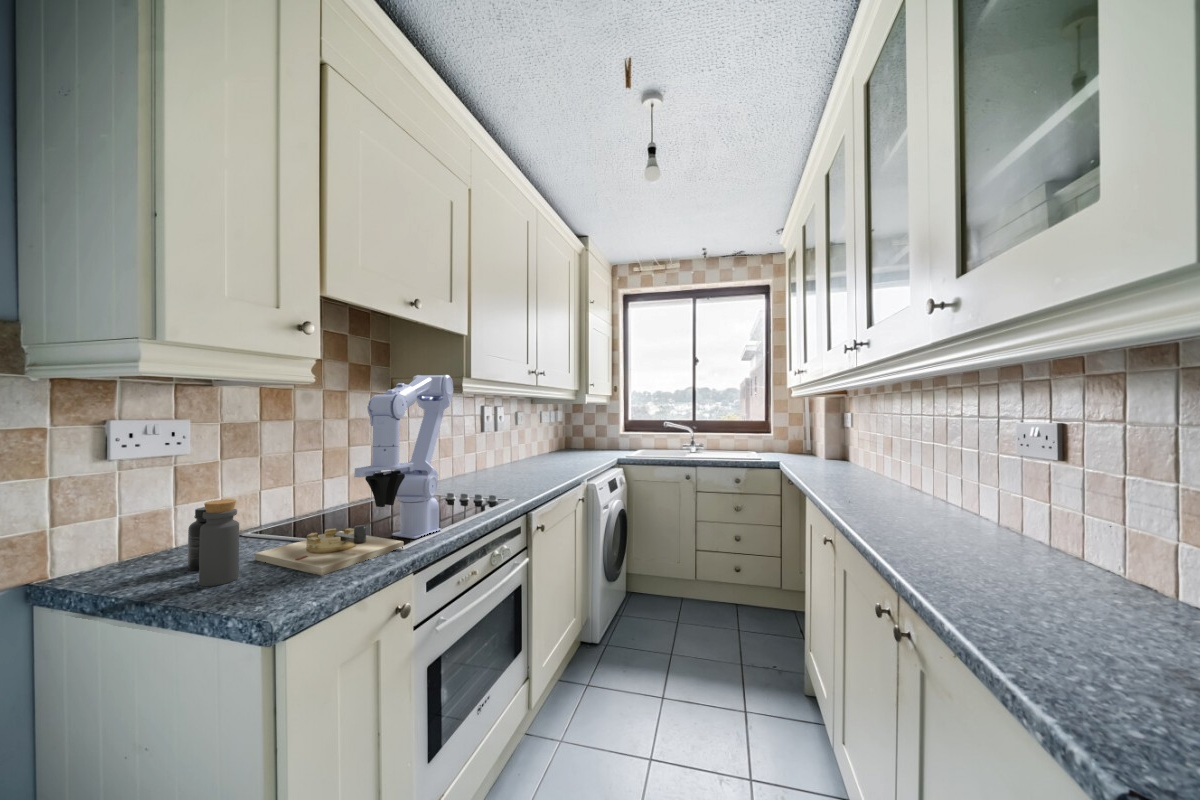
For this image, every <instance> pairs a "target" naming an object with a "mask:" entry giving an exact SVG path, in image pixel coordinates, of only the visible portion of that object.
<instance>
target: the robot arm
mask: <svg viewBox="0 0 1200 800" xmlns="http://www.w3.org/2000/svg"><path fill="white" fill-rule="evenodd" d="M395 386H396V387H394V388H392V389H387V390H386V392H385V393H383V394H374V396H372V397H371V398H369V401H368V405H367V413H368V416H369V424H370V426H371V427H372V439H371V440H372V442H371V443H372V449H371V450H372V451H371V465H368V466H362V467H361V466H360V467H355V468H354V478H365V481H366V483H367V484H368V485H369V488H370V490H371V493H372V495H373V500H374V502H375V507H379V508H385V507H386V506H393V505H394V504H395V501H396V498H397V502H399V514H400V515H399V531H397V532H393V533H391V536H393V537H394V536H395V537H399V538H406V539H414V540H415V539H419V538H421V536H422V537H425V536H428V535H430V534H429V533H431V534H433V532H434V533H436V531H437V532H440V531H439V530H441V531H442V528H440V506H439V502H438V500H437V499H436V498H435V497H434V496H435V495H436V494H437V492H438V491H437V490H438V479H439V473H438V471H437V469H436V468H435V467H434V466H432V464H431V463H432V459H433V455H434V452H435V447H436V444H437V441H438V437H439V432H440V429H441V425H442V421H443V417H444V413H445V410H446V409H448V408H449V407H450V405H451V402H452V400H453V399H452V398H453V394H454V382H453V379H452V377H451V376H450V374H442V375H440V374H439V375H436V374H435V375H434V374H433V375H421V374H417V375H414V376H413V377H412V381H411V382H410V383H408V384H405V383H404V382H398V383H396V385H395ZM415 402H416V403H417V406H418V407H419V408H420V409H422V410H424V413H423V418H422V420H421V423H420V428H419V431H418V434H417V436H416V437H417V438H416V442H415V444H414V447H413V453H412V455H411V459H410V461H408V462H400V449H401V448H400V446H401V445H400V444H401V443H400V441H401V438H400V436H401V433H400V432H401V419H403V418H404V417H405V413H406V411H407V409H408V408H410V407H411V406H412V405H414V404H415ZM427 534H428V535H427ZM424 535H425V536H424Z"/></svg>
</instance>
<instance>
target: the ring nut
mask: <svg viewBox="0 0 1200 800" xmlns="http://www.w3.org/2000/svg"><path fill="white" fill-rule="evenodd" d="M366 535H367V525H365V524H358V525H354V526H353V528H352V527H348V528H345V529H343V532H339V531H337V528H327V529H324V533H321V534H319V532H311V533H308V534H307V535H306V539H305V540H306V551H307V552H309V553H333V552H339V551H343V550H347V549H350V548H353V547H355V546H356V545H357V544H363V543H366Z"/></svg>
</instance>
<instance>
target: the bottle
mask: <svg viewBox="0 0 1200 800" xmlns="http://www.w3.org/2000/svg"><path fill="white" fill-rule="evenodd" d="M236 503H237V500H236V499H231V498H229V499H228V498H226V499H217V500H215V499H214V500H211V501H207V502H204V507H205V509H206V512H204V513H203V518H204V519H207V522H206V523H205V524H204V525H202V526H201V527H200V548H199V570H198V581H199V582H198V584H199V586H202V587H214V586H220V585H224V584H229V583H231V582H233V581H236V580H237V579H239V574H240V573H239V572H240V571H239V569H240V568H239V567H240V565H239V564H240V563H239V562H240V522H239V521H238V520H235V519H234V517H235V516H237V515H238V509H237V508H235V506H236Z"/></svg>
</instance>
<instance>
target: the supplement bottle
mask: <svg viewBox="0 0 1200 800" xmlns="http://www.w3.org/2000/svg"><path fill="white" fill-rule="evenodd" d="M204 512H206V509H205V506H203V507H198V508H195V510H194V519H195V521H193V522H192V523H190V525H188V529H187V568H188V569H189V570H191V571H199V548H200V527H201V526H202V525H204V524H205V523H206V522H207V519H204V518H203V513H204Z"/></svg>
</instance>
